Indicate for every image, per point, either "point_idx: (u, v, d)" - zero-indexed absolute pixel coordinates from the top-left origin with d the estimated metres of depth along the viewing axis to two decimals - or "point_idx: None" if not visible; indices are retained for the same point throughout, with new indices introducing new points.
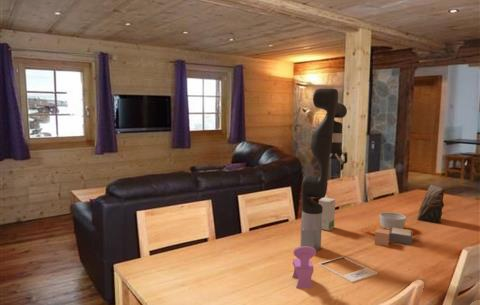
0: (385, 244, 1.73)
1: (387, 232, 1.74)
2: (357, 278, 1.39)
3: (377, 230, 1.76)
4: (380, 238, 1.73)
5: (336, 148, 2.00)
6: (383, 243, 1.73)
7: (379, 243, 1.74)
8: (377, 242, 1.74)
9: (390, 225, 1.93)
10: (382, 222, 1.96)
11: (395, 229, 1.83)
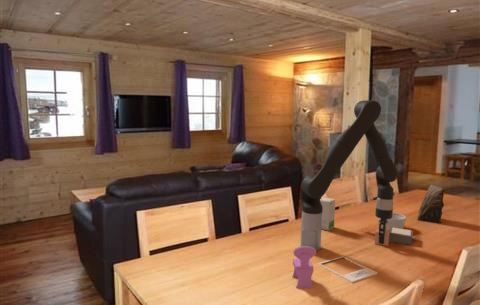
0: (385, 244, 1.73)
1: (387, 232, 1.74)
2: (357, 278, 1.39)
3: (377, 230, 1.76)
4: None
5: None
6: None
7: (379, 243, 1.74)
8: (377, 242, 1.74)
9: (390, 225, 1.93)
10: None
11: (395, 229, 1.83)
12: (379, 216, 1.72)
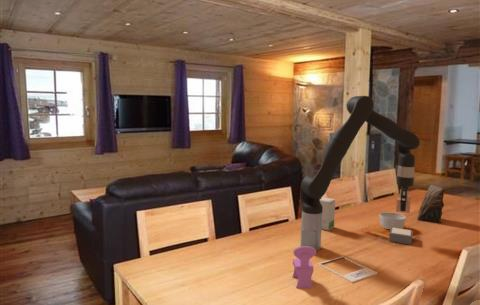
0: (407, 211, 1.75)
1: (408, 199, 1.76)
2: (357, 278, 1.39)
3: (398, 198, 1.78)
4: None
5: None
6: (405, 210, 1.76)
7: (400, 210, 1.77)
8: (399, 209, 1.77)
9: (390, 225, 1.93)
10: (382, 222, 1.96)
11: (395, 229, 1.83)
12: (401, 184, 1.75)
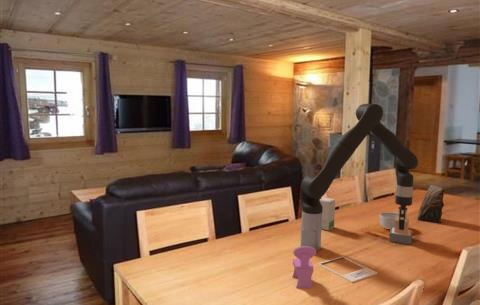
0: (405, 232, 1.77)
1: (407, 220, 1.78)
2: (357, 278, 1.39)
3: (397, 219, 1.80)
4: None
5: None
6: (403, 231, 1.77)
7: (398, 231, 1.78)
8: (397, 230, 1.78)
9: (390, 225, 1.93)
10: (382, 222, 1.96)
11: None
12: (399, 203, 1.76)
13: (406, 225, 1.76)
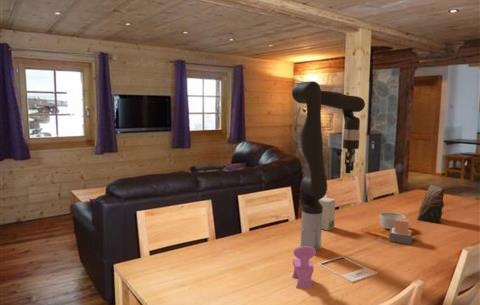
0: (405, 232, 1.77)
1: (407, 220, 1.78)
2: (357, 278, 1.39)
3: (397, 219, 1.80)
4: (400, 226, 1.77)
5: None
6: (403, 231, 1.77)
7: (398, 231, 1.78)
8: (397, 230, 1.78)
9: (390, 225, 1.93)
10: (382, 222, 1.96)
11: None
12: (346, 147, 1.75)
13: (406, 225, 1.76)
